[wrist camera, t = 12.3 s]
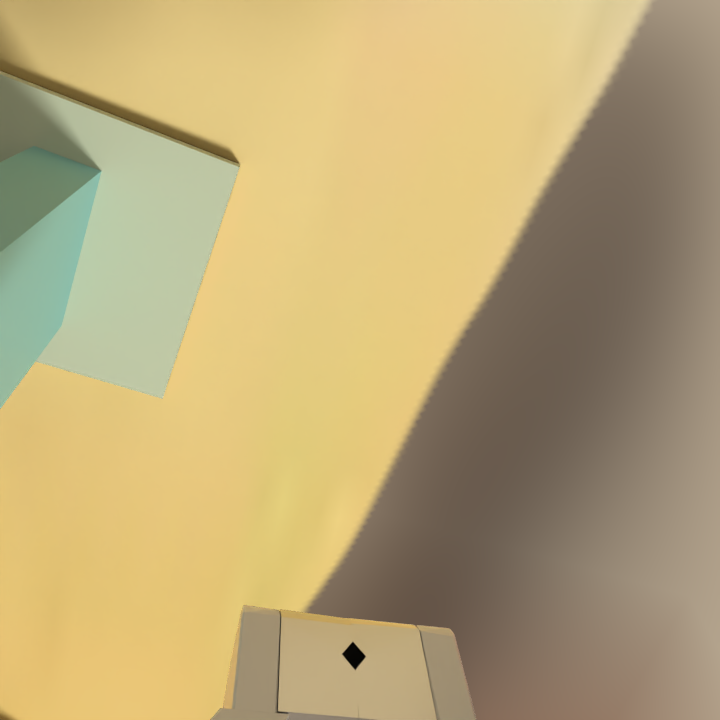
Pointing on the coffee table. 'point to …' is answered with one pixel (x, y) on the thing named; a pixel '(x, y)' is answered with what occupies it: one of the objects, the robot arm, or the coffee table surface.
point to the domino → (38, 252)
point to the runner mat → (125, 234)
